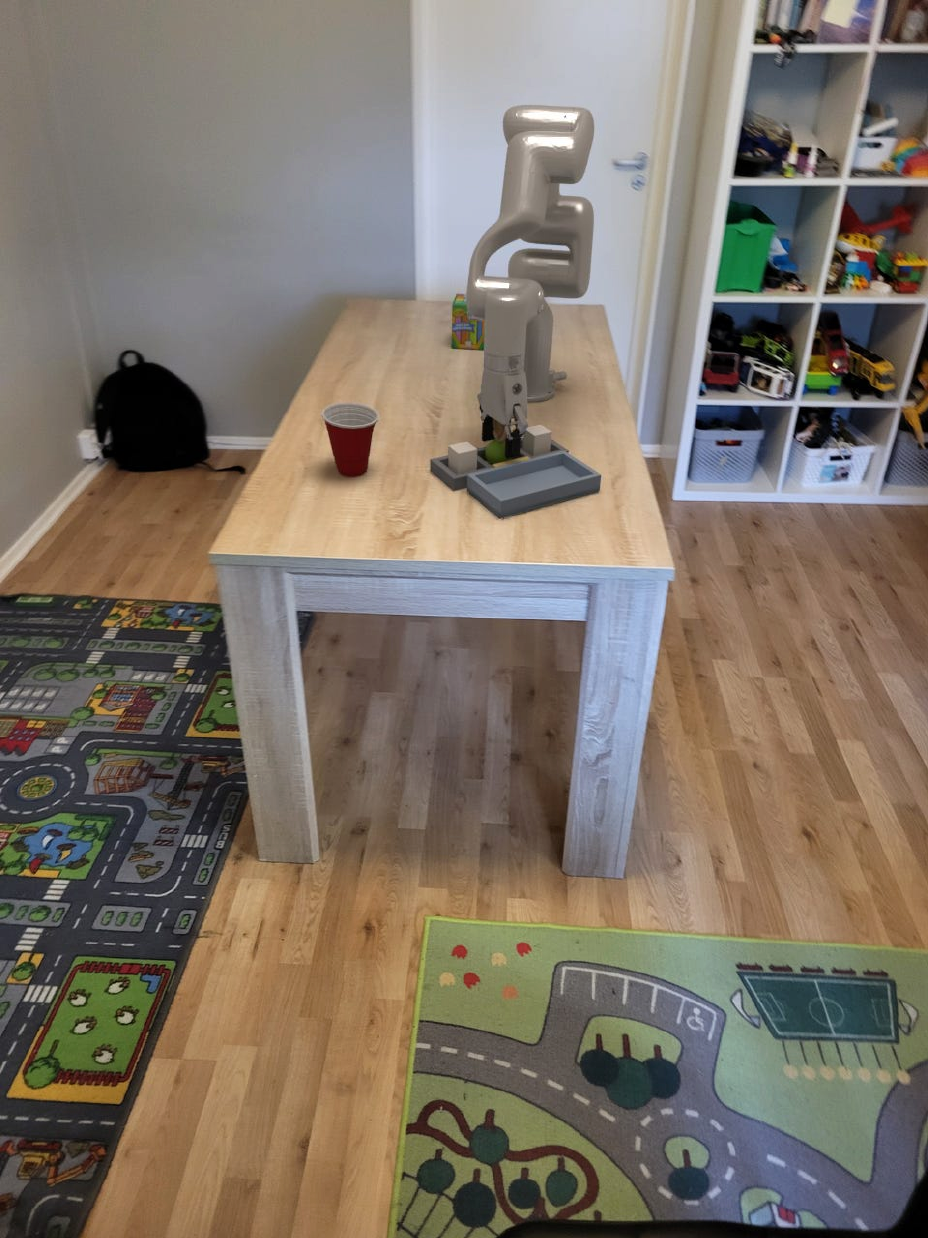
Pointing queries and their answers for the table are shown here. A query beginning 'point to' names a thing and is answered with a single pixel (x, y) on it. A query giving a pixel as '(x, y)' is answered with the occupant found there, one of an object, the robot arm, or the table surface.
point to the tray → (533, 483)
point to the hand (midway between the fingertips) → (500, 447)
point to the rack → (479, 465)
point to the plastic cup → (350, 435)
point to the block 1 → (462, 458)
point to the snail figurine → (497, 444)
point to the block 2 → (537, 440)
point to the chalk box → (466, 326)
